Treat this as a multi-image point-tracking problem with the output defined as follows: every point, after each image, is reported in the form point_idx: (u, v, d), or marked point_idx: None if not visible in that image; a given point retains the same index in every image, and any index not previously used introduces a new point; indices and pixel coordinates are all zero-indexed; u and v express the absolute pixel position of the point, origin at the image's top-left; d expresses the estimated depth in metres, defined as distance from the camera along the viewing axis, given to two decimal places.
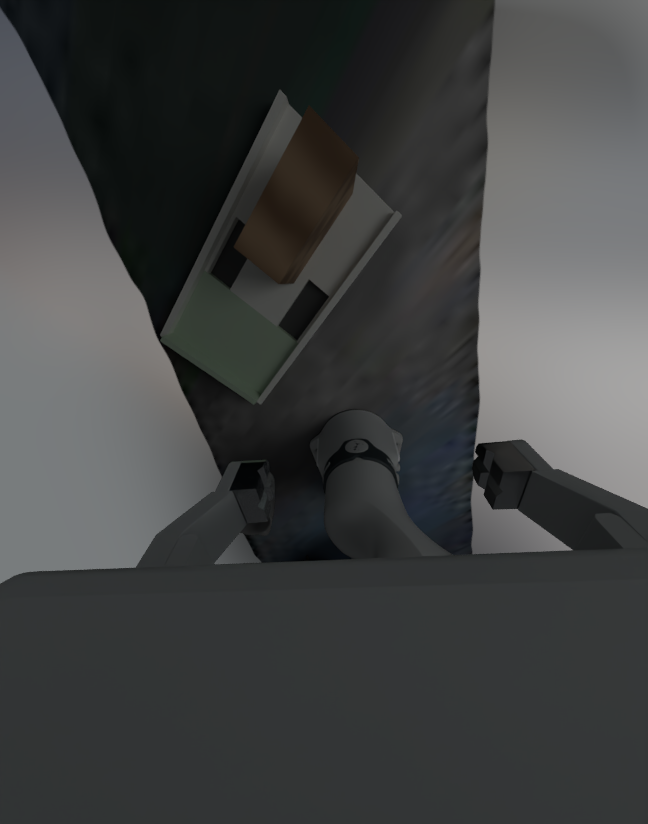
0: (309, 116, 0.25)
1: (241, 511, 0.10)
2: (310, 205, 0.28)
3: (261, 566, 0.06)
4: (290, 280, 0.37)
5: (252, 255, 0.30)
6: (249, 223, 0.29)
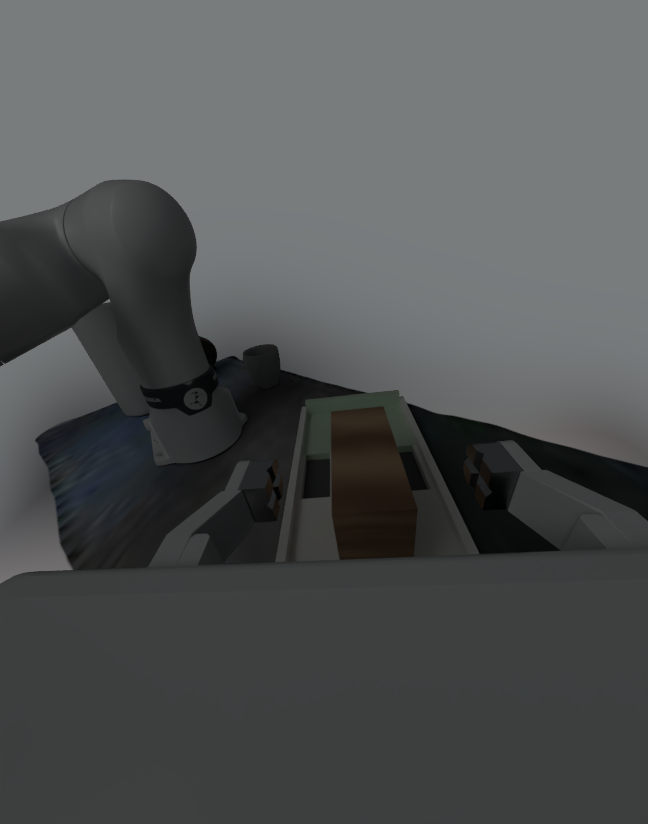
0: (408, 503, 0.19)
1: (249, 510, 0.10)
2: (348, 457, 0.24)
3: (261, 566, 0.06)
4: None
5: (365, 410, 0.30)
6: (385, 420, 0.28)
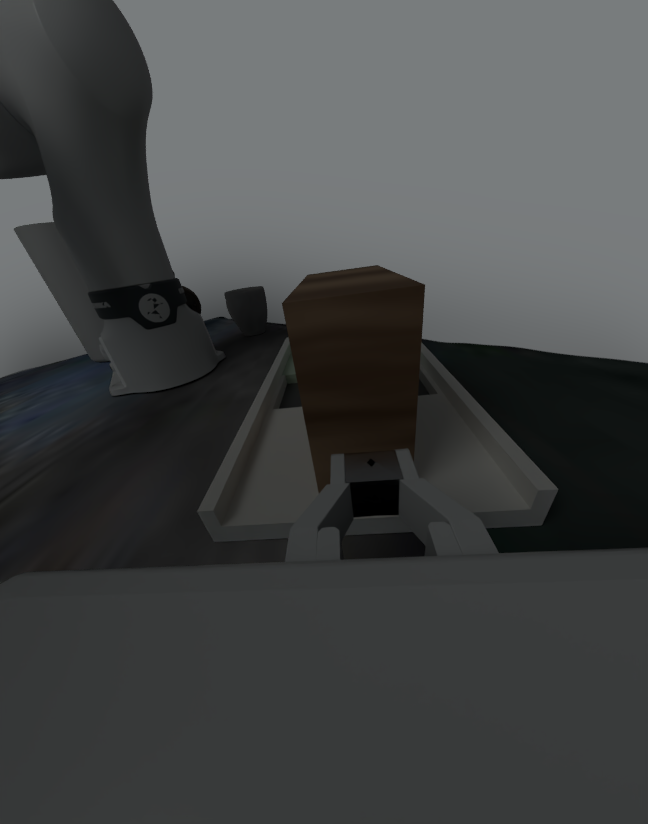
0: (410, 285, 0.12)
1: (351, 504, 0.09)
2: (321, 283, 0.16)
3: (261, 566, 0.06)
4: None
5: (353, 269, 0.23)
6: (378, 268, 0.21)
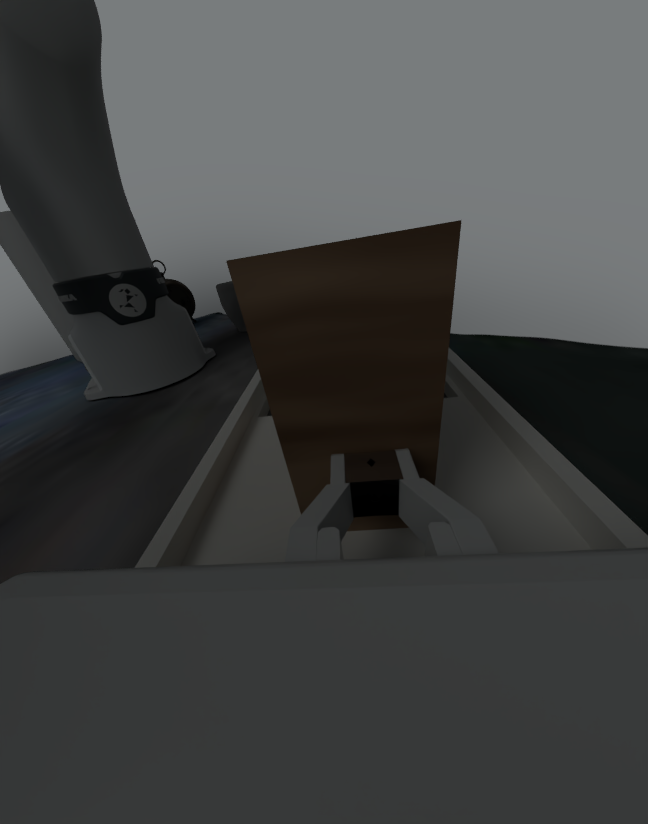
0: None
1: (351, 504, 0.09)
2: None
3: (261, 566, 0.06)
4: None
5: None
6: None
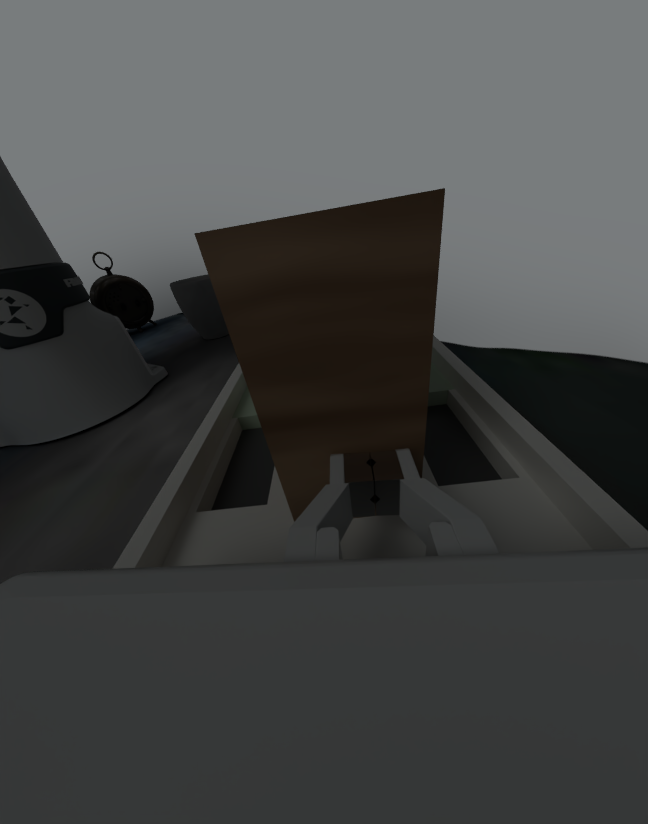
0: None
1: (351, 504, 0.09)
2: None
3: (261, 566, 0.06)
4: None
5: None
6: None
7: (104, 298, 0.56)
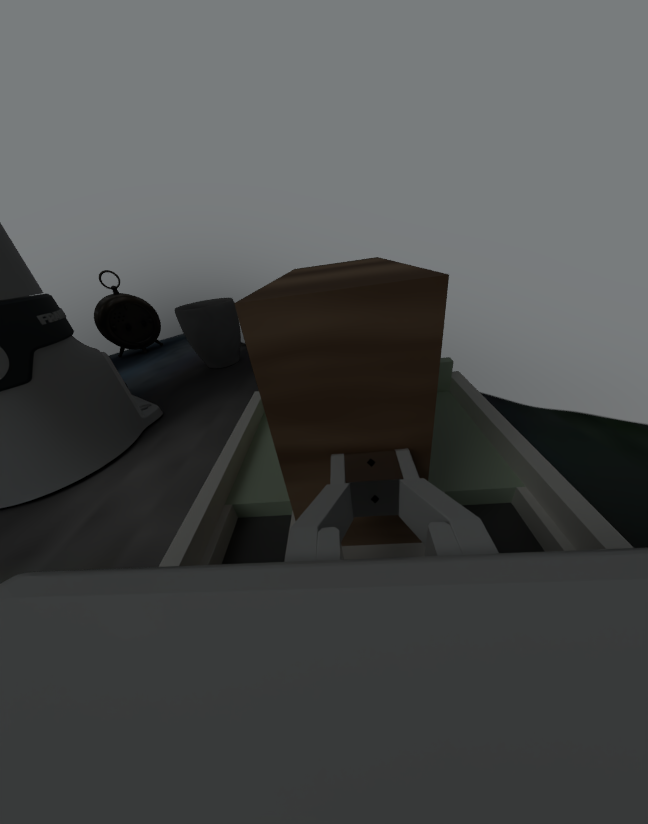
0: (425, 275, 0.08)
1: (351, 504, 0.09)
2: (304, 276, 0.13)
3: (261, 566, 0.06)
4: None
5: (348, 261, 0.19)
6: (379, 259, 0.17)
7: (108, 319, 0.52)
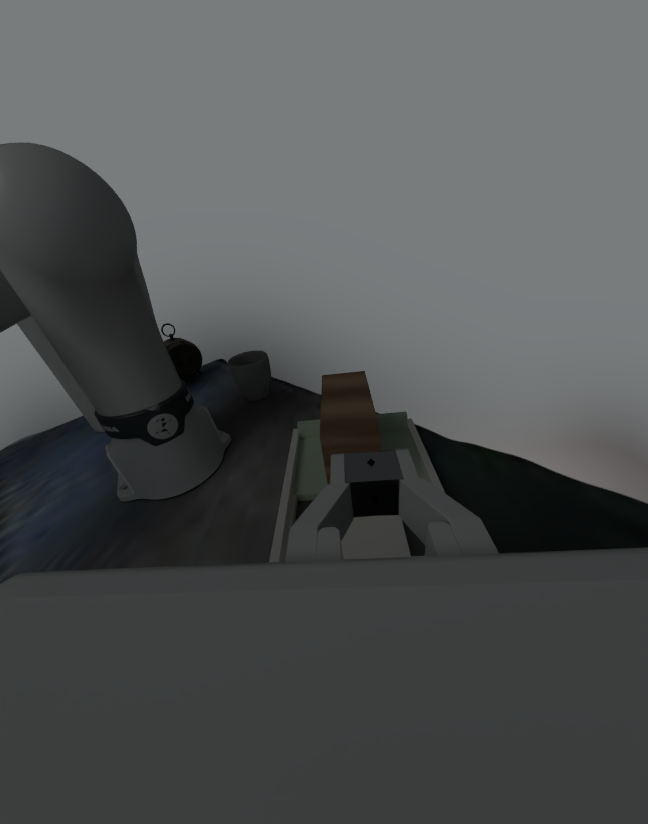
0: (374, 428, 0.27)
1: (351, 504, 0.09)
2: (333, 404, 0.32)
3: (261, 566, 0.06)
4: None
5: (349, 374, 0.38)
6: (364, 380, 0.36)
7: None
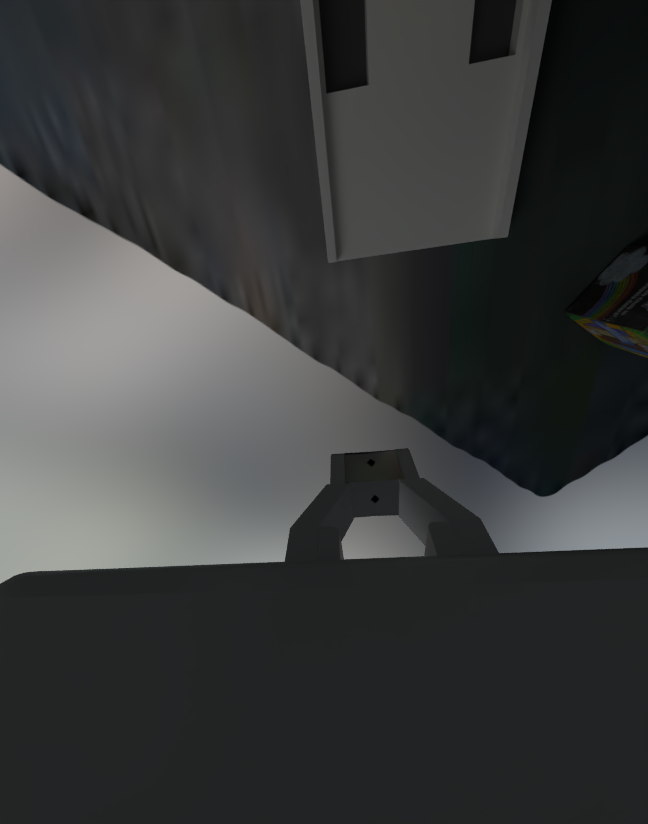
0: None
1: (351, 504, 0.09)
2: None
3: (261, 566, 0.06)
4: None
5: None
6: None
7: None
